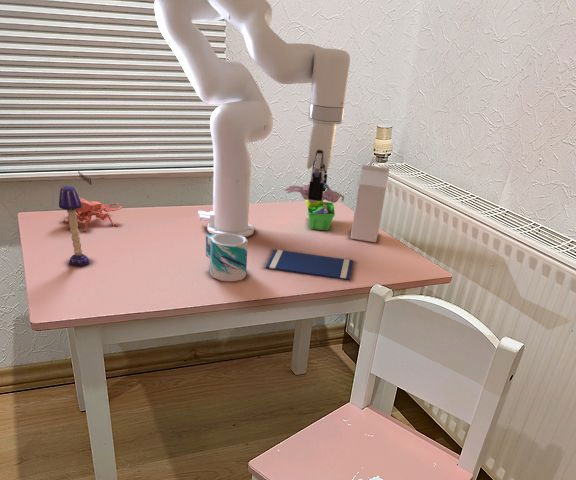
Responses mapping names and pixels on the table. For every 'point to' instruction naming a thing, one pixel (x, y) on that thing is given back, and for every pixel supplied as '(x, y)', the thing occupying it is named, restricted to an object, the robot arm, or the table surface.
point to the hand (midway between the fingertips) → (316, 194)
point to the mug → (227, 256)
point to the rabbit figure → (327, 195)
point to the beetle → (92, 210)
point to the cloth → (310, 264)
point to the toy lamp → (73, 222)
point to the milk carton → (369, 203)
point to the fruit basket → (320, 214)
